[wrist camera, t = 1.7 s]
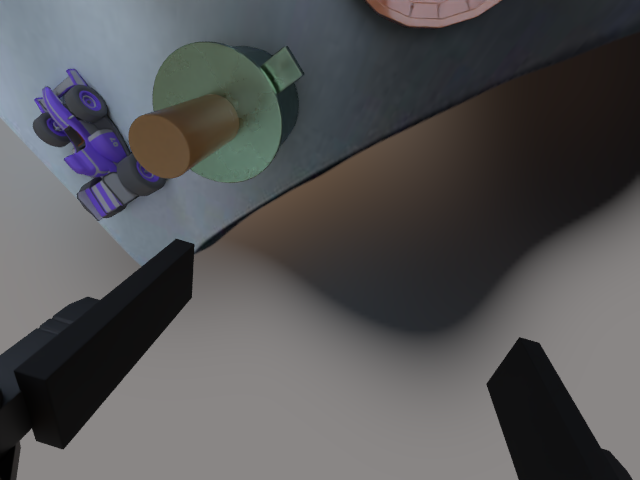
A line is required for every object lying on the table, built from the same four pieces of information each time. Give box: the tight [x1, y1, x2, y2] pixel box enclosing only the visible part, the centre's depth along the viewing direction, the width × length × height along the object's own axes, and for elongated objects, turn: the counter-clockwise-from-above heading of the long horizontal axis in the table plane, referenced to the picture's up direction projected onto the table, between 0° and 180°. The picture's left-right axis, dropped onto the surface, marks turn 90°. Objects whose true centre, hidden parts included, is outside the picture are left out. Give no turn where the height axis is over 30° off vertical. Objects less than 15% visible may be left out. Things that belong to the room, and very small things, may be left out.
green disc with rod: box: [129, 42, 283, 183], centre depth 25 cm, size 11×11×10 cm
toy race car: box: [33, 69, 166, 221], centre depth 38 cm, size 10×15×6 cm, turn 29°
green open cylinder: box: [232, 46, 304, 146], centre depth 32 cm, size 10×16×8 cm, turn 123°
